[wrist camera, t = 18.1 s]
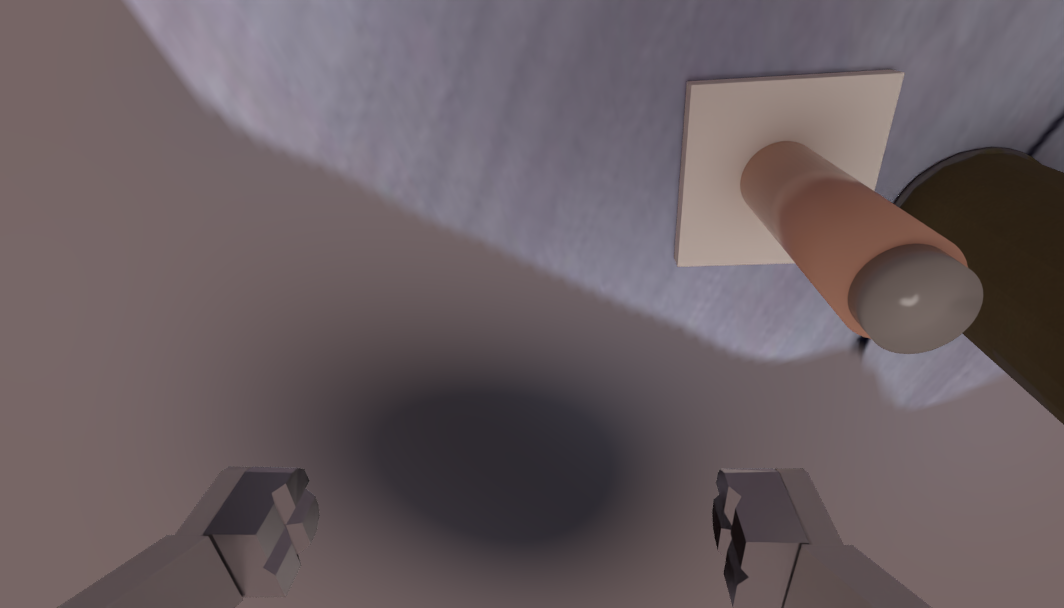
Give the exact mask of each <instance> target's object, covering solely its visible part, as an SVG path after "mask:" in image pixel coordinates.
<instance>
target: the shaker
mask: <svg viewBox="0 0 1064 608" xmlns="http://www.w3.org/2000/svg"><path fill="white" fill-rule="evenodd" d="M740 189H741V194H742V197H743V199H744V201H745V202H746V204H747V205H748V206H749V207H750V208H751V210H752V211H753V212H754V213H755V215H756V216H757V217H758V218H759V219H760V221H761V222H762V223H763V224H764V226H765V227H766V228H767V229H768V230H769V232H770V233H771V234H772V235H773V237H774V238H775V239H776V240H777V241H778V243H779V244H780V245H781V246H782V248H783V249H784V250H785V251H786V252H787V254H788V255H789V256H790V257H791V259H792V260H793V261H794V262H795V263H796V265H797V266H798V267H799V268H800V270H801V271H802V272H803V273H804V274H805V276H806V277H807V278H808V279H809V281H810V282H811V283H812V284H813V285H814V287H815V288H816V289H817V290H818V292H819V293H820V294H821V295H822V296H823V298H824V299H825V300H826V301H827V303H828V304H829V305H830V306H831V307H832V309H833V310H834V311H835V312H836V314H837V315H838V316H839V317H840V318H841V320H842V321H843V322H844V323H845V324H846V326H847V327H848V328H850V329H851V330H852V331H853V332H855V333H857V334H859V335H861V336H863V337H867V338H870V339H872V340H873V341H874V342H875V343H876V344H877V345H878V346H880V347H882V348H883V349H886V350H888V351H891V352H895V353H901V354H915V353H922V352H926V351H930V350H933V349H936V348H939V347H941V346H943V345H945V344H947V343H949V342H951V341H952V340H954V339H955V338H957V337H958V336H959V335H961V334H962V333H963V332H964V331H965V330H966V329H967V328H968V327H969V326H970V325H971V324H972V322H973V321H974V320H975V318H976V317H977V315H978V313H979V311H980V309H981V305H982V302H983V288H982V284H981V282H980V279H979V278H978V277H977V275H976V274H975V273H974V272H973V271H972V270H970V269H969V268H968V266H967V261H966V259H965V257H964V254H963V253H962V252H961V250H960V249H959V248H958V247H957V246H956V245H955V244H954V243H952V242H951V241H949V240H948V239H946V238H945V237H943V236H941V235H940V234H938V233H937V232H935V231H934V230H932V229H931V228H929V227H928V226H926V225H925V224H923V223H922V222H920V221H919V220H917V219H916V218H914V217H913V216H911V215H910V214H908V213H907V212H905V211H904V210H902V209H901V208H899V207H897V206H896V205H894V204H893V203H891V202H890V201H888V200H887V199H885V198H884V197H882V196H881V195H879V194H878V193H876V192H875V191H873V190H872V189H870V188H869V187H867V186H866V185H864V184H863V183H861V182H860V181H858V180H857V179H855V178H853V177H852V176H850V175H849V174H847V173H846V172H844V171H843V170H841V169H840V168H838V167H837V166H835V165H834V164H832V163H831V162H829V161H828V160H826V159H825V158H823V157H822V156H820V155H819V154H817V153H816V152H814V151H813V150H811V149H809V148H808V147H806V146H805V145H803V144H801V143H798V142H793V141H781V142H776V143H773V144H770V145H768V146H766V147H764V148H762V149H761V150H759V151H758V152H757V153H756V154H755V155H754V156H753V157H752V158H751V159H750V160H749V161H748V163H747V164H746V166H745V168H744V170H743V173H742V176H741V181H740Z"/></svg>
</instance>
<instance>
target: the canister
mask: <svg viewBox="0 0 1064 608" xmlns="http://www.w3.org/2000/svg"><path fill="white" fill-rule="evenodd" d="M894 205H896V206H897V207H899V208H901V209H902V210H904V211H905V212H907V213H908V214H910V215H911V216H913V217H914V218H916V219H917V220H919V221H920V222H922V223H923V224H925V225H926V226H928V227H929V228H931V229H932V230H934V231H935V232H937V233H938V234H940V235H941V236H943V237H945V238H946V239H948V240H949V241H951V242H952V243H954V244H955V245H956V246H957V247H958V248H959V249H960V250H961V252H962V253H963V254H964V257H965V259H966V261H967V266H968V268H969V269H970V270H972V271H973V272H974V273H975V274H976V275H977V277H978V278H979V279H980V282H981V284H982V288H983V302H982V305H981V309H980V311H979V313H978V315H977V317H976V318H975V320H974V321H973V322H972V324H971V325H970V326H969V327H968V328H967V329H966V330H965V331H964V332H963V333H962V334H964V335H965V336H966V337H967V338H968V339H969V340H970V341H971V342H973V343H974V344H975V345H976V346H977V347H978V348H979V349H980V350H981V351H983V352H984V353H985V354H986V355H987V356H988V357H989V358H990V359H991V360H993V361H994V362H995V363H996V364H997V365H998V366H999V367H1000V368H1001V369H1003V370H1004V371H1005V372H1006V373H1007V374H1008V375H1009V376H1010V377H1011V378H1013V379H1014V380H1015V381H1016V382H1017V383H1018V384H1019V385H1020V386H1022V387H1023V388H1024V389H1025V390H1026V391H1027V392H1028V393H1029V394H1030V395H1032V396H1033V397H1034V398H1035V399H1036V400H1037V401H1038V402H1039V403H1040V404H1041V405H1043V406H1044V407H1045V408H1046V409H1047V410H1048V411H1049V412H1050V413H1052V414H1053V415H1054V416H1055V417H1056V418H1057V419H1058V420H1059V421H1060V422H1062V423H1063V424H1064V173H1063V172H1060V171H1057V170H1055V169H1052V168H1049V167H1047V166H1044V165H1042V164H1041V163H1039V162H1038V161H1037V160H1035V159H1034V158H1033V157H1031V156H1029V155H1027V154H1025V153H1023V152H1020V151H1016V150H1012V149H1009V148H994V147H989V148H984V149H978V150H973V151H968V152H963V153H959V154H957V155H955V156H953V157H951V158H949V159H946V160H944V161H942V162H940V163H938V164H936V165H935V166H933V167H931V168H930V169H928V170H927V171H925V172H924V173H922V174H921V175H919V176H918V177H917V178H916V179H915V180H914V181H913V182H912V183H911V184H910V185H909V186H908V187H907V188H906V189H905V190H904V191H903V192H902V193H901V195H900V196H899V198H898V199H897V200H896V202H895V203H894Z"/></svg>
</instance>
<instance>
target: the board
mask: <svg viewBox="0 0 1064 608" xmlns="http://www.w3.org/2000/svg"><path fill="white" fill-rule="evenodd" d="M904 74H905V73H904V72H900V71H896V70H892V69H890V70H872V71H855V72H838V73H821V74H804V75H787V76H769V77H752V78H735V79H718V80H701V81H687V86H686V100H685V114H684V128H683V141H682V155H681V169H680V183H679V197H678V211H677V224H676V238H675V252H674V259H675V261H676V264H677V267H688V266H722V265H755V264H789V263H795V262H794V261H793V260H792V259H791V257H790V256H789V255H788V254H787V252H786V251H785V250H784V249H783V248H782V246H781V245H780V244H779V243H778V241H777V240H776V239H775V238H774V237H773V235H772V234H771V233H770V232H769V230H768V229H767V228H766V227H765V226H764V224H763V223H762V222H761V221H760V219H759V218H758V217H757V216H756V215H755V213H754V212H753V211H752V210H751V208H750V207H749V206H748V205H747V204H746V202H745V201H744V199H743V197H742V194H741V189H740V181H741V176H742V173H743V170H744V168H745V166H746V164H747V163H748V161H749V160H750V159H751V158H752V157H753V156H754V155H755V154H756V153H757V152H758V151H759V150H761V149H762V148H764V147H766V146H768V145H770V144H773V143H776V142H781V141H793V142H798V143H801V144H803V145H805V146H806V147H808V148H809V149H811V150H813V151H814V152H816V153H817V154H819V155H820V156H822V157H823V158H825V159H826V160H828V161H829V162H831V163H832V164H834V165H835V166H837V167H838V168H840V169H841V170H843V171H844V172H846V173H847V174H849V175H850V176H852V177H853V178H855V179H857V180H858V181H860V182H861V183H863V184H864V185H866V186H867V187H869V188H870V189H872V190H873V191H874V190H875V187H876V183H877V179H878V175H879V171H880V167H881V163H882V159H883V155H884V151H885V148H886V144H887V140H888V136H889V132H890V128H891V124H892V120H893V116H894V113H895V109H896V105H897V101H898V97H899V93H900V89H901V85H902V81H903V78H904Z"/></svg>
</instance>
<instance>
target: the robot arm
mask: <svg viewBox="0 0 1064 608" xmlns="http://www.w3.org/2000/svg"><path fill="white" fill-rule="evenodd" d="M308 483H309V478H308V476H307V474H306V472H305V469H301V468H281V467H235V466H229V467H227V468H226V469H224V470H222V471H221V472H220V473H219V475H218V476H217V477H216V479H215V480H214V482H213V483H212V484H211V486H210V487H209V488H208V490H207V491H206V492H205V494H204V495H203V497H202V498H201V499H200V501H199V502H198V504H197V505H196V506H195V507H194V509H193V510H192V512H191V513H190V515H189V516H188V517H187V518H186V520H185V521H184V523H183V524H182V525H181V527H180V528H179V529H178V531H177V532H176V534H175V535H166V536H165V537H164V538H162V539H160V540H159V541H158V542H156V543H154V544H153V545H151V546H150V547H148V548H147V549H145V550H144V551H142V552H141V553H139V554H138V555H136V556H135V557H133V558H131V559H130V560H128V561H127V562H125V563H124V564H122V565H121V566H119V567H118V568H116V569H115V570H113V571H112V572H110V573H109V574H107V575H106V576H104V577H103V578H101V579H100V580H98V581H96V582H95V583H93V584H92V585H90V586H89V587H87V588H86V589H84V590H83V591H82V592H80V593H78V594H77V595H75V596H74V597H72V598H71V599H69V600H68V601H66V602H65V603H63V604H62V605H60V606H58V607H57V608H235V607H236V606H237V605H239V603H241V602H242V601H243V598H242V597H286V596H287V593H288V591H289V589H290V587H291V585H292V583H293V580H294V579H295V577H296V575H297V572H298V570H299V568H300V566H301V563H300V559H299V555H298V554H299V553H301V552H302V551H303V550H304V549H306V548H307V547H308V546H309V545H311V543H312V540H313V538H314V536H315V533H316V531H317V526H318V520H319V506H318V502H317V499H316V497H315V496H314V495H313V494H312V493H311V492H309V491H308V490H307V489H305V488H306V486H307V485H308ZM716 485H717V488H718V492H719V495H718V496H717V497H716V498H715V499H714V500H713V509H712V522H713V531H714V537H715V541H716V546H717V550H718V552H719V553H720V554H721V555H723V556H724V557H725V558H726V561H725V567H724V577H725V581H726V584H727V588H728V592H729V596H730V599H731V603H732V607H733V608H932V607H931V606H929V605H928V604H927V603H926V602H924V601H923V600H922V599H921V598H919V597H918V596H917V595H915V594H914V593H913V592H912V591H910V590H909V589H908V588H907V587H905V586H904V585H903V584H901V583H900V582H899V581H898V580H896V579H895V578H894V577H893V576H891V575H890V574H889V573H887V572H886V571H885V570H884V569H882V568H881V567H880V566H879V565H877V564H876V563H875V562H873V561H872V560H871V559H870V558H868V557H867V556H866V555H864V554H863V553H862V552H861V551H859V550H858V549H857V548H856V547H854V546H853V545H844V544H843V542H842V540H841V538H840V536H839V534H838V532H837V530H836V528H835V526H834V524H833V522H832V520H831V518H830V516H829V514H828V512H827V510H826V508H825V506H824V504H823V502H822V500H821V498H820V496H819V494H818V492H817V490H816V488H815V486H814V484H813V482H812V480H811V478H810V476H809V473H808V472H807V471H805V470H804V469H803V468H800V469H796V468H793V469H773V468H762V469H761V468H760V469H759V468H758V469H757V468H755V469H720V470H719V472H718V474H717V480H716Z"/></svg>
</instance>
